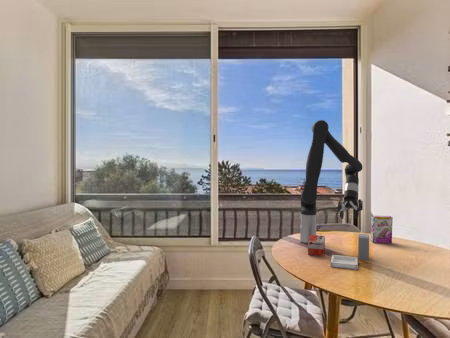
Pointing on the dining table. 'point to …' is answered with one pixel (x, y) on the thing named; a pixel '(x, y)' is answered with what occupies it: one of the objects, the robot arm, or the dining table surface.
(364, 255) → the tall grey carton
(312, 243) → the medicine box
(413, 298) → the dining table surface
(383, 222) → the candy bar box
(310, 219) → the robot arm
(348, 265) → the tray
